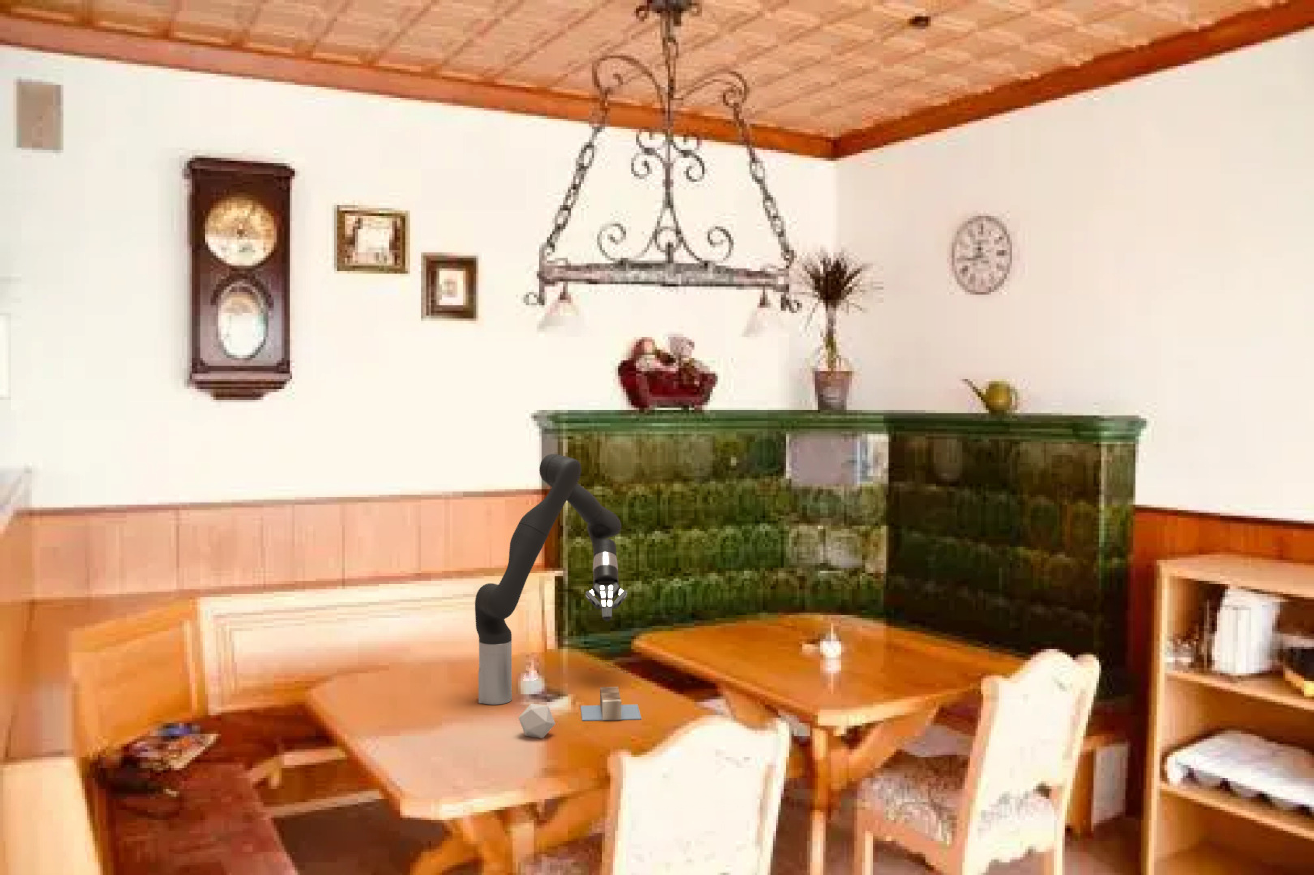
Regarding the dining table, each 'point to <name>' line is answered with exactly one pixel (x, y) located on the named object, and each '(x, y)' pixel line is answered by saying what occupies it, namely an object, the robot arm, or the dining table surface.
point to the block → (610, 703)
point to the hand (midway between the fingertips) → (607, 619)
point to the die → (536, 720)
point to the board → (595, 713)
